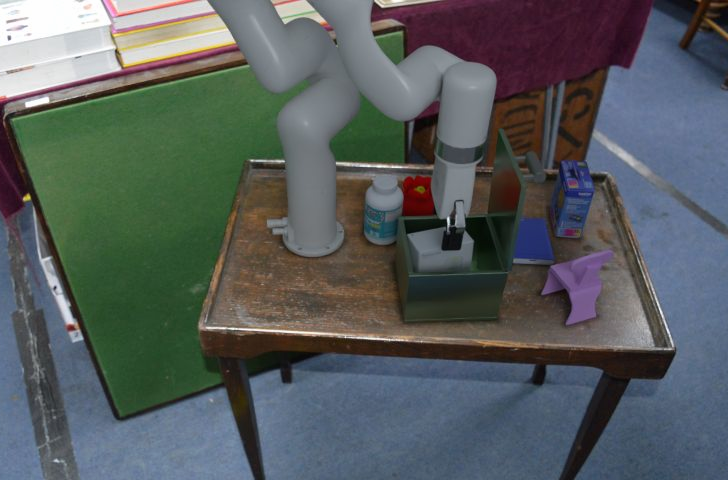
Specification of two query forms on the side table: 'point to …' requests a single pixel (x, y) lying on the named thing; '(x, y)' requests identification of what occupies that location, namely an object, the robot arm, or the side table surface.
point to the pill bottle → (383, 210)
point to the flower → (417, 196)
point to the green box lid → (509, 194)
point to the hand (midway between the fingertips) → (446, 230)
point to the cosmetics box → (438, 252)
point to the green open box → (451, 276)
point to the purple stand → (579, 283)
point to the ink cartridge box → (571, 199)
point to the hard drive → (533, 243)
